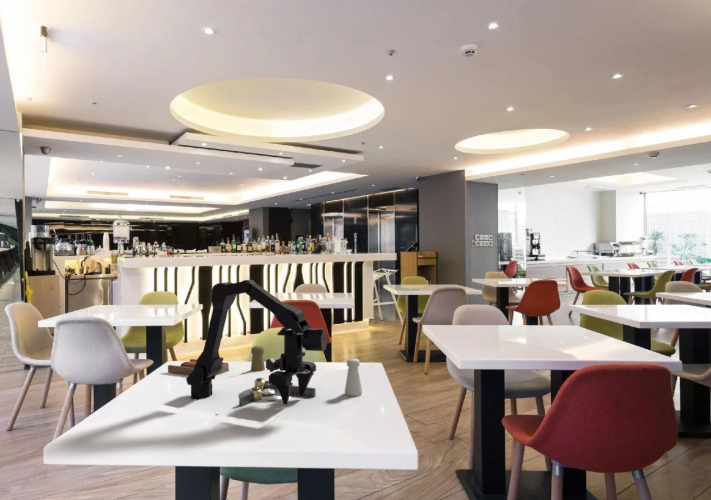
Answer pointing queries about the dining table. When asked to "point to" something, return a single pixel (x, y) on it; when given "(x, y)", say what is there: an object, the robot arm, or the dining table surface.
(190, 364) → the sunglasses case
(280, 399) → the levelling base
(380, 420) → the dining table surface
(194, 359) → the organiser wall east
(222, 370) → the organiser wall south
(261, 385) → the knob left
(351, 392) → the salt shaker
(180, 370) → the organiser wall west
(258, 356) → the cork
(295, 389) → the knob right
